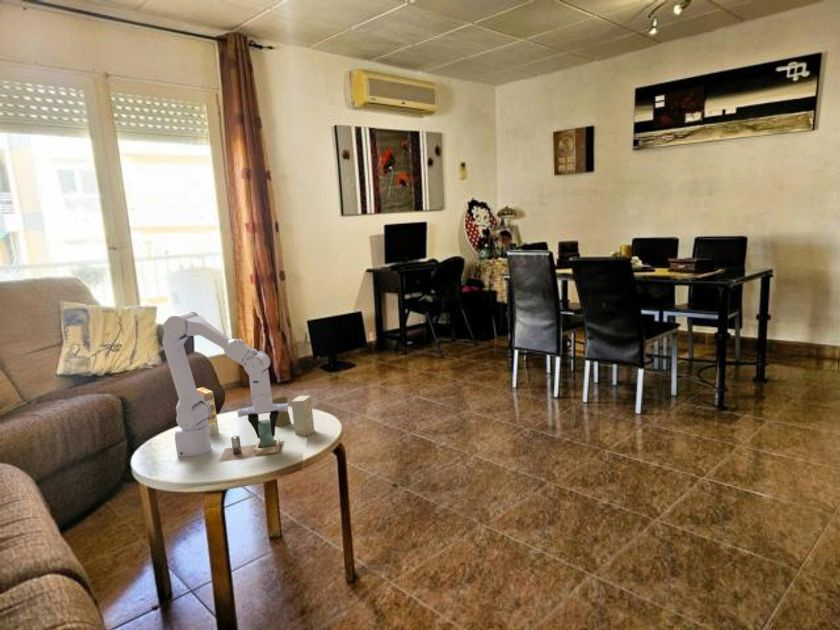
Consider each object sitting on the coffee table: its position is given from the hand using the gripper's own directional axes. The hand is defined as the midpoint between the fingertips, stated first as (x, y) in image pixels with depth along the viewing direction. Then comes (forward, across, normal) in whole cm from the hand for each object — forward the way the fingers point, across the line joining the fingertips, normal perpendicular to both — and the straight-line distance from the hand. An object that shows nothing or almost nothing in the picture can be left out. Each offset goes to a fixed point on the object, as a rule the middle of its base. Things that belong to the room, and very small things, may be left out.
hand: (266, 436), depth 164 cm
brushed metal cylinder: (+4, +9, 0) cm, 10 cm away
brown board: (+5, +4, 0) cm, 7 cm away
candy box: (+5, +22, -24) cm, 33 cm away
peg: (+2, 0, 0) cm, 3 cm away
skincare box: (+5, -10, -12) cm, 17 cm away
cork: (+5, -2, -22) cm, 23 cm away
